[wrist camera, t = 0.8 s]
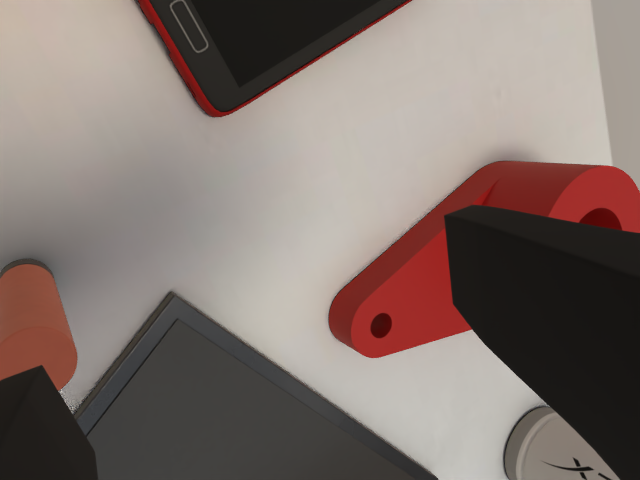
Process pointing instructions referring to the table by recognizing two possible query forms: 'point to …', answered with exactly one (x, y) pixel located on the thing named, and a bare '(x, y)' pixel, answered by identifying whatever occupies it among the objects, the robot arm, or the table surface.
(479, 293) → the robot arm
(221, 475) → the tablet
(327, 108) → the table surface
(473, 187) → the lever
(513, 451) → the travel mug
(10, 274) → the stylus
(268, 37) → the cell phone
